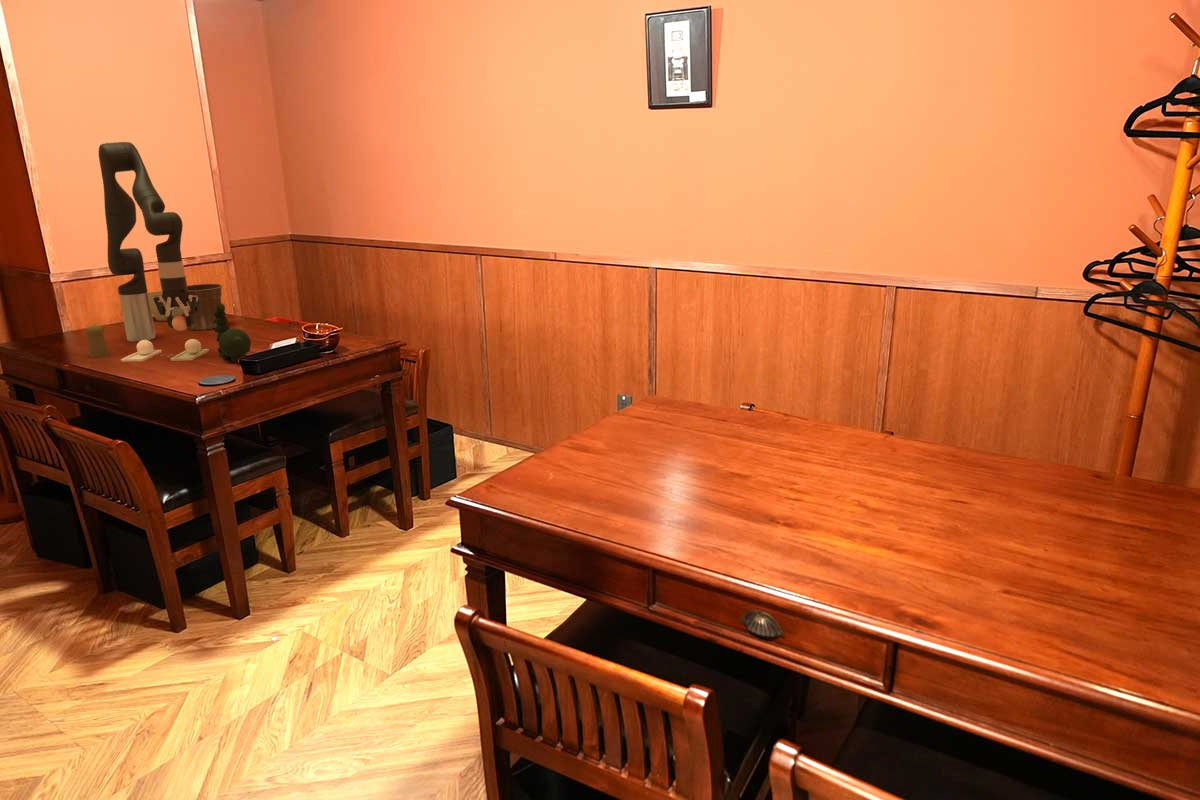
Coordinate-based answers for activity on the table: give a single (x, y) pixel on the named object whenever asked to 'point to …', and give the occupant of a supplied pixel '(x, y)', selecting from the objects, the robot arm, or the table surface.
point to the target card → (167, 356)
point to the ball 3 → (192, 346)
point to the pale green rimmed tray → (188, 355)
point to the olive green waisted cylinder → (96, 342)
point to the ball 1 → (145, 347)
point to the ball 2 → (179, 323)
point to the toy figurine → (230, 337)
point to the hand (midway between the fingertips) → (181, 327)
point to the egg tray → (140, 356)
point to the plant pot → (205, 305)
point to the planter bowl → (176, 311)
